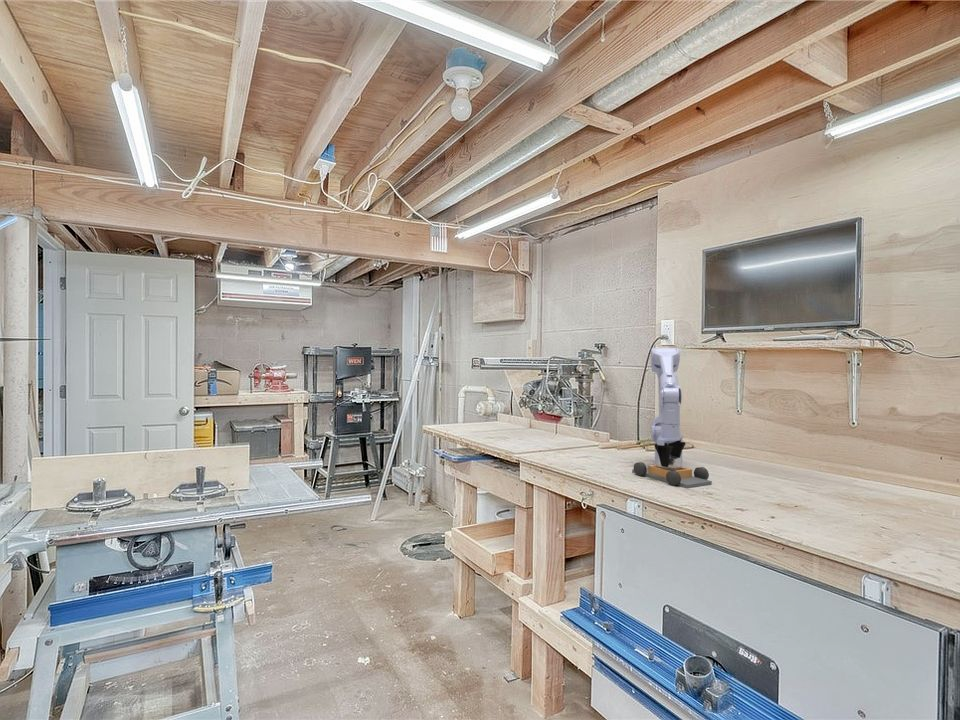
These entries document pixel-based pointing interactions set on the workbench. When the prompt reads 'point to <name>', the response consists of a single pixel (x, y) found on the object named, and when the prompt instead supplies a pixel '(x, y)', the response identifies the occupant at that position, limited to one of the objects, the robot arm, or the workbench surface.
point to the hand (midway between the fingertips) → (670, 464)
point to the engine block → (671, 463)
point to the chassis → (674, 475)
